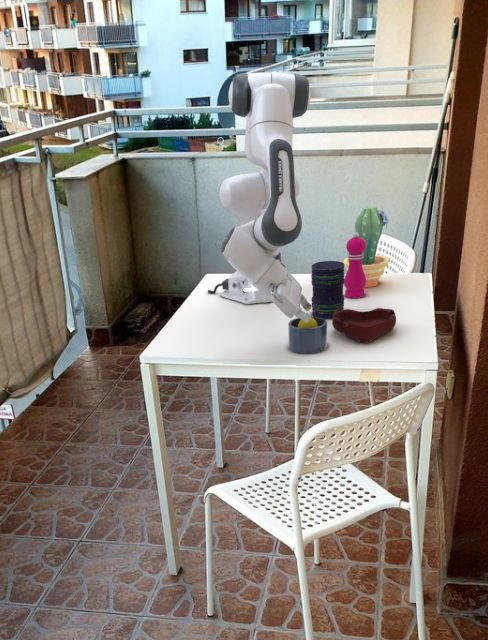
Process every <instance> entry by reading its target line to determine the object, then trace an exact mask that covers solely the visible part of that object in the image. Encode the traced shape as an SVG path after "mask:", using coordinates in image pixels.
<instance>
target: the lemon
mask: <svg viewBox="0 0 488 640" xmlns="http://www.w3.org/2000/svg"><path fill="white" fill-rule="evenodd" d="M310 317H311V319H310V320H309V321H308V322H307V323H305V322H304V321H303V320H302V319H301V320H300V322H299V324H298V328H315V327H318V326H317V323H316V321H315V320H314V319H313V318H312V317H313V316H310Z"/></svg>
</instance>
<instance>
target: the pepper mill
mask: <svg viewBox="0 0 488 640" xmlns="http://www.w3.org/2000/svg"><path fill="white" fill-rule="evenodd" d="M352 236H353V237H351V238H349V240H347V242H346V247H345V248H346V251H347V252H348V253H347V258H348V259H349V268H348V271H347V270H346V273H345V276H344V280H345V281H344V284H343V287H345V290H344V297H346V298H348V299H360V298H363V297H364V296H365V289H364V288H365V287H364V286H365V285H366V276H365V274H364V271H363V268H362V258H363V257H364V256H363V255H364V253H363V251H364V250H365V241H364V240H363V239H362V238H359V234H358V233H357V232H356V233H355V232H354V233H353V234H352Z"/></svg>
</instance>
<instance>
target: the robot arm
mask: <svg viewBox="0 0 488 640" xmlns="http://www.w3.org/2000/svg"><path fill="white" fill-rule="evenodd" d="M311 97H312V91H311V87H310V81H309V80H308V78H307V76H305V75H303V74H300V73H296V72H294V74H293V73H287V72H280V71H270V72H268V71H267V72H262V71H261V72H251V73H247V72H241V73H238V74H235V76H234V77H233V78H232V81H231V83H230V85H229V88H228V103H229V106H230V108H231V112H232V113H233V114H234V115H235V116H238V117H241V118H245V135H244V154H245V156H246V158H247V160H248V161H250V163H252V164H253V165H256V166H258V167H260V170H259V171H256V172H249V173H241V174H236V175H233V176H230V177H228V178H225V179H224V180H223V181H222V183H221V184H220V188H219V192H218V193H219V195H218V196H219V201H220V204H221V205H222V207H223V208H224V209H225V210H226V211H227V212H229V213H230V214H231V215H233V217H235V218H236V220H237V221H238V223H239V225H238V226H233V227H232V228H231V229H230V230H229V231H228V233H227V234H226V236H225V238H224V240H223V242H222V243H221V248H220V249H221V250H220V251H221V254H222V256H223V257H224V259H225V260H226V261H227V262H228V264H230V266H231V267H232V268H233V269H235V272H233V273H231V275H230V276H229V278H226V279H224V280H223V281H221V282H220V283H217V284H216V285H215V286H214V289H213V290H210V289H208V290H207V293H208V294H215V293H216V292H217V290H218V288H220V287H222V290H224V291H222V292H221V297H222V298H225V299H228V300H231V301H234V302H235V301H236V302H238V303H242V304H244V305H245V304H246V305H254V304H262V303H263V304H264V303H273V304H274V305H275V306H276V307H277V308H278V309H279V310H280V311H281V312H282V313H283V314H284V315H285V316H286V317H287V318H289V319H292V318H293V317H294V316H295V317H296V318H300V319H302V320H303V321H304V322H305V323H307V322H308V321H309V320H310V319H311V317H312V316H311V315H310V314H309V313H308V312H309V311H310V310H312V303H310V301H308V300H307V298H306V297H305V295H304V294H303V293H302V292H303V287H302V285H301V283H300V282H299V281H298V280H297V279H296V277H294V276H293V275H292V274H291V272H290V271H288V270H287V266H286V265H285V264H284V263H283V262H282V253H281V252H280V249H282V248H283V247H285V246H287V245H289V244H291V243H293V242H295V241H296V240H297V239H298V237H299V236H300V234H301V231H302V227H303V220H302V215H301V212H300V209H299V206H298V204H297V203H298V202H297V198H298V197H299V194H300V181H299V178H298V176H297V175H296V173H295V162H294V151H293V138H294V137H293V136H294V135H293V134H294V133H293V132H294V127H293V126H294V120H293V119H296V118H299V117H302V116H304V114H306V113H307V111H308V108H309V106H310V102H311ZM262 210H265V211H264V212H263V213H261V211H262ZM301 306H302V308H301ZM303 309H304V310H305V311H304V310H303Z"/></svg>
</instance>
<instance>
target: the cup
mask: <svg viewBox="0 0 488 640" xmlns="http://www.w3.org/2000/svg"><path fill="white" fill-rule="evenodd" d="M311 317H312V318H313V319H314V320H315V321H316V323H317V326H318V327H315V328H298V324H299V322H300V320H301V319H300V318H298V317H296V318H293V319H291V320H289V322H288V324H287V327H288V348H289V350H290V351H291V352H292V353H295V354H301V355H311V354H312V355H313V354H318V353H321V352H323V351H325V350H326V349H327V344H328V321H327V319H323V318H320V317H313V316H311Z"/></svg>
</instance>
